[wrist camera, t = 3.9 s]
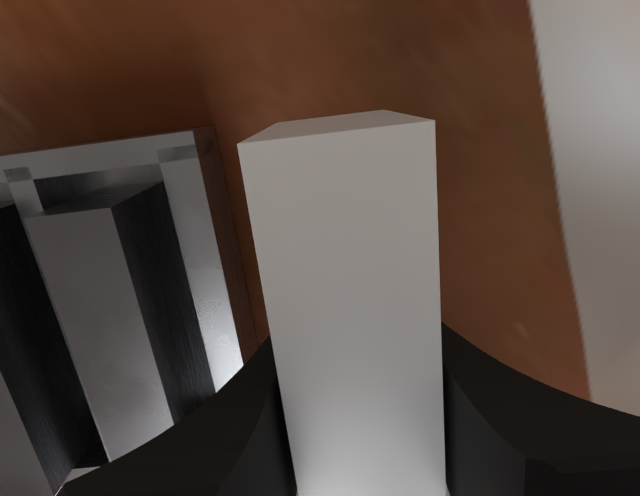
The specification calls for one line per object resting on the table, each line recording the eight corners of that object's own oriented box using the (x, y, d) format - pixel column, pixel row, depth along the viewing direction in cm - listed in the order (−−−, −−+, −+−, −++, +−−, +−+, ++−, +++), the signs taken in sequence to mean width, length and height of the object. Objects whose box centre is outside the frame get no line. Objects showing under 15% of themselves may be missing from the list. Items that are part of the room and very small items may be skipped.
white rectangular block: (406, 448, 16) (450, 640, 10) (325, 455, 16) (325, 648, 11) (383, 109, 12) (434, 120, 6) (277, 122, 12) (236, 144, 7)
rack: (273, 420, 24) (258, 514, 19) (-66, 452, 25) (-174, 551, 20) (214, 125, 19) (169, 136, 14) (-208, 182, 20) (-407, 213, 15)
